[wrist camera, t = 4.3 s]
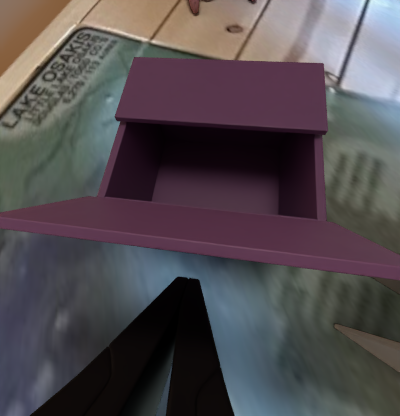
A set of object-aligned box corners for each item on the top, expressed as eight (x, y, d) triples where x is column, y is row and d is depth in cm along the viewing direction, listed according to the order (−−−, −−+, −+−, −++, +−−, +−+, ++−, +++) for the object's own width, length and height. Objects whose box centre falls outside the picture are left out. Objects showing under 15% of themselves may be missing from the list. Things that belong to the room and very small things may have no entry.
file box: (281, 252, 19) (335, 224, 11) (140, 234, 21) (86, 198, 12) (283, 147, 23) (324, 62, 14) (162, 138, 24) (133, 55, 16)
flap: (333, 222, 11) (332, 230, 11) (88, 196, 12) (88, 203, 12) (432, 270, 6) (427, 284, 6) (-16, 214, 7) (-15, 226, 7)
